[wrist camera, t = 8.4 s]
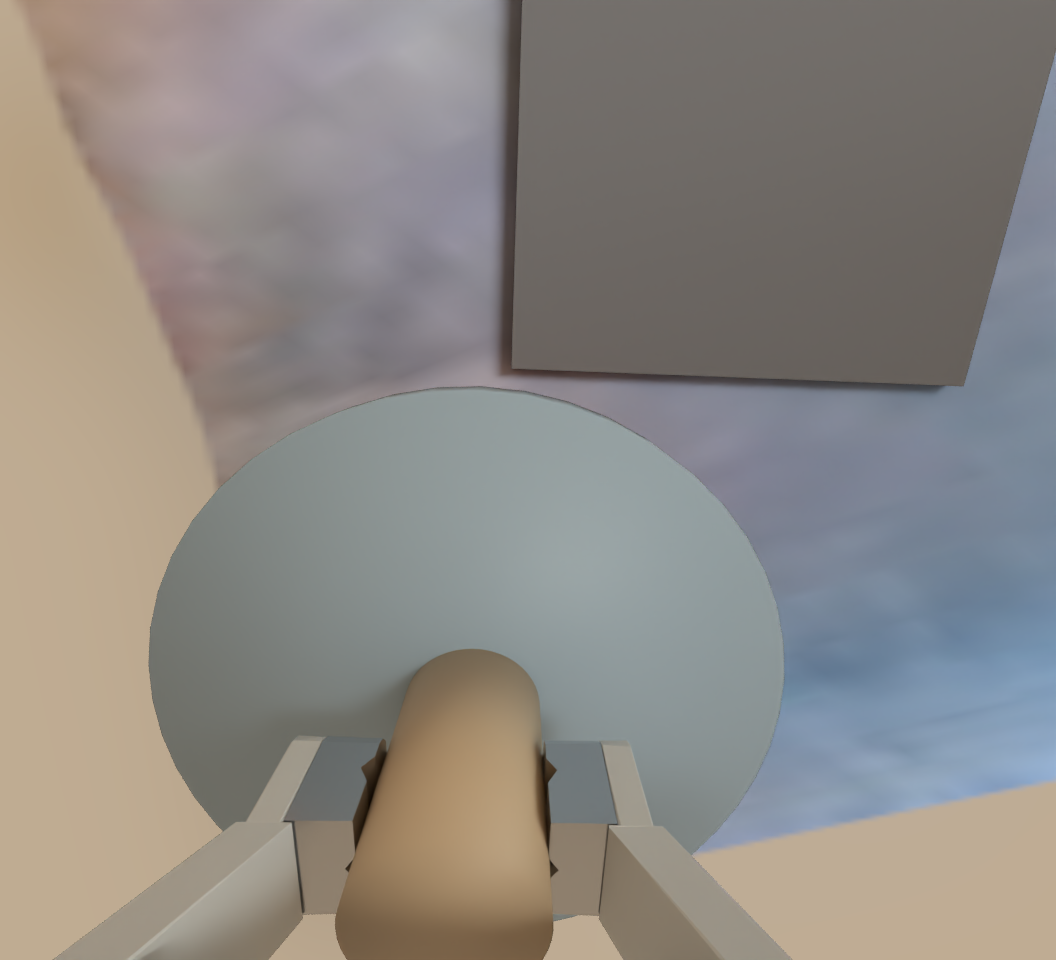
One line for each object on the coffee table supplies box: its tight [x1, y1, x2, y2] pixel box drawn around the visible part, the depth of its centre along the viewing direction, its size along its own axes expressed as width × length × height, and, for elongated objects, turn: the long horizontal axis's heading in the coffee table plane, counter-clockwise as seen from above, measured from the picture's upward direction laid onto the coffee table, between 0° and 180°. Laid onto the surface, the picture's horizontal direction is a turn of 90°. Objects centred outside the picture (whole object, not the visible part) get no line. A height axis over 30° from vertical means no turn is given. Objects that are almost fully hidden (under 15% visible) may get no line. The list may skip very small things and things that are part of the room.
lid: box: [149, 386, 784, 960], centre depth 9 cm, size 13×13×5 cm
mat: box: [511, 0, 1056, 386], centre depth 14 cm, size 15×15×1 cm
